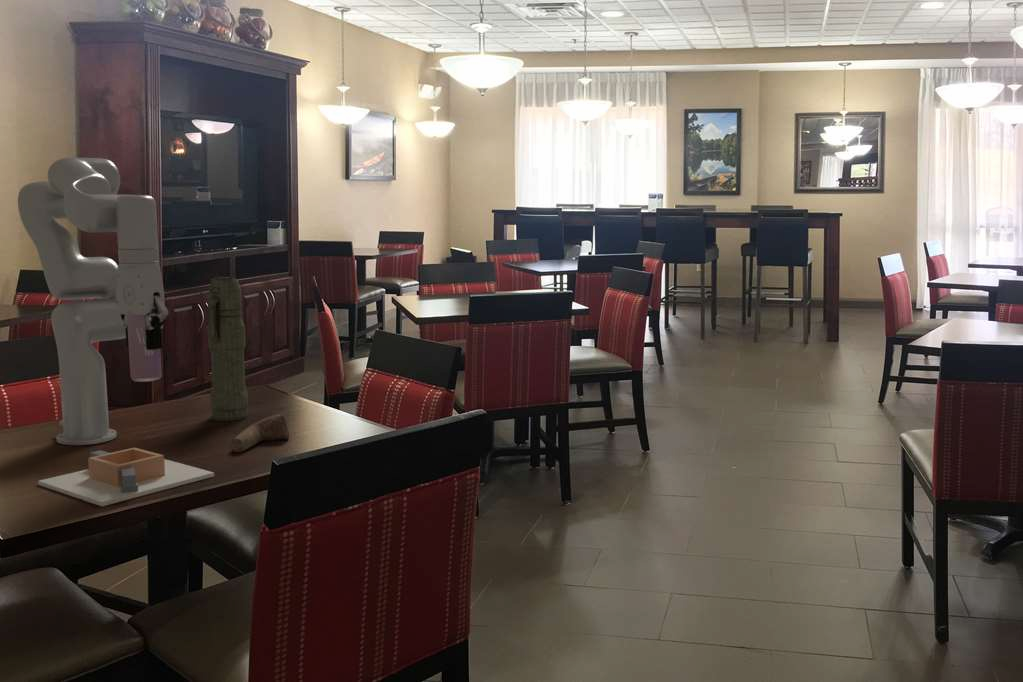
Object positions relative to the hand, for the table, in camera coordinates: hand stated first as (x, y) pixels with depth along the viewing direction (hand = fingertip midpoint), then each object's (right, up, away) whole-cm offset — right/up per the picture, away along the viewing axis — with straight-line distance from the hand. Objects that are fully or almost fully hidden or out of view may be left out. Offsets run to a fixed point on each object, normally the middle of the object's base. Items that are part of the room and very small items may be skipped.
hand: (144, 347), depth 200 cm
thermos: (+3, -18, +49) cm, 52 cm away
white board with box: (-1, -26, -6) cm, 27 cm away
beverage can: (0, -7, +1) cm, 7 cm away
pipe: (+18, -22, +23) cm, 37 cm away
